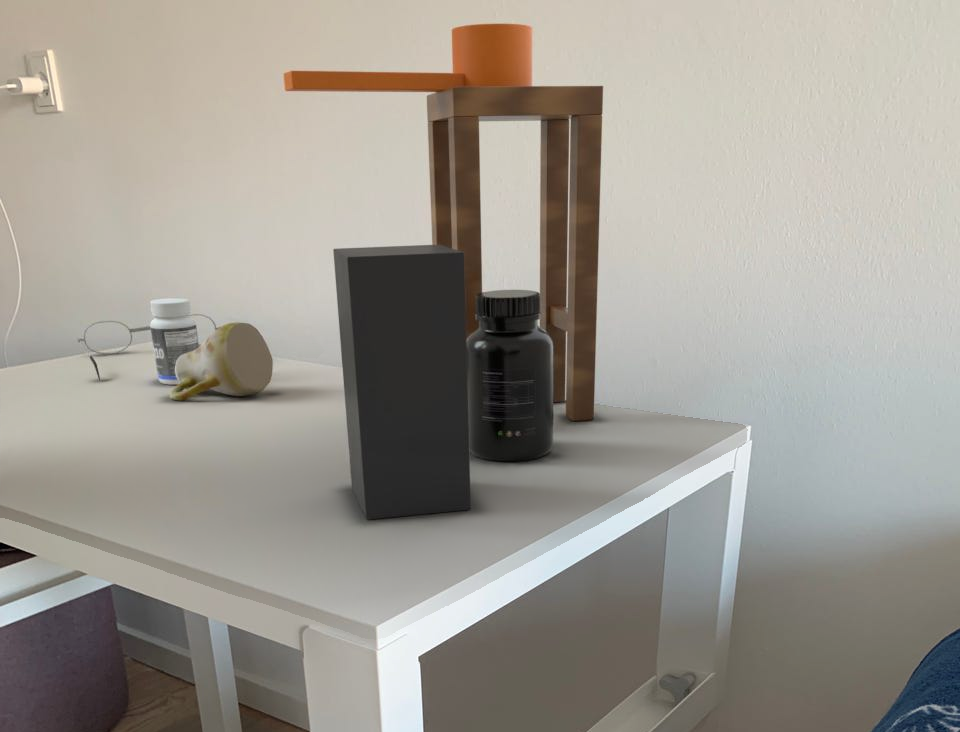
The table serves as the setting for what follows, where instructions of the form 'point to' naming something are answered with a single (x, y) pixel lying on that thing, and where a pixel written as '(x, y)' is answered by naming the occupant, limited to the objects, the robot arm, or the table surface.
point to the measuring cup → (476, 62)
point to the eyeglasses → (129, 342)
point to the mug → (225, 364)
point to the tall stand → (461, 211)
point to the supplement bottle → (509, 378)
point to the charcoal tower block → (405, 377)
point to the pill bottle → (171, 335)
